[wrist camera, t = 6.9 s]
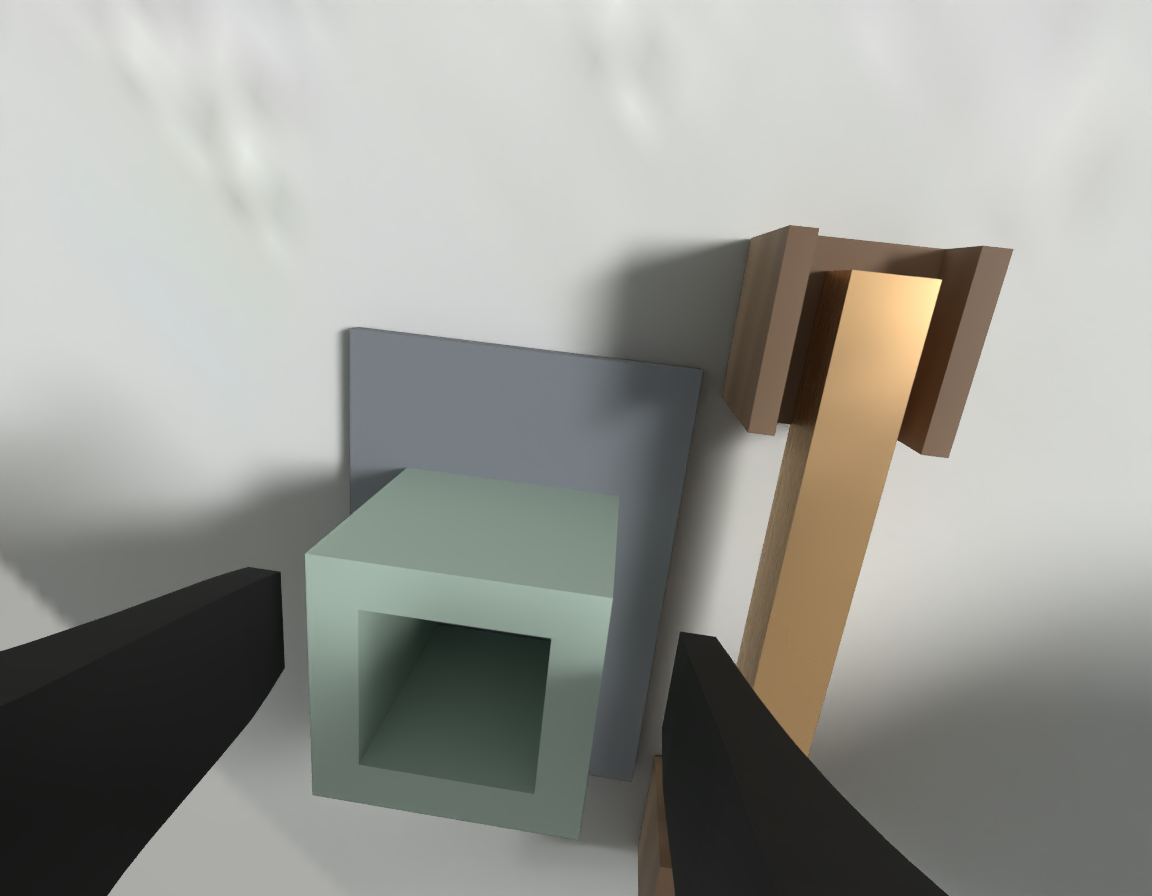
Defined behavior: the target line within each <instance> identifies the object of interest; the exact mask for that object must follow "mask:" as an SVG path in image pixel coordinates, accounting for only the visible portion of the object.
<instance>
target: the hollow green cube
mask: <svg viewBox="0 0 1152 896" xmlns="http://www.w3.org/2000/svg"><path fill="white" fill-rule="evenodd" d="M618 510H619V496H616V495H608V494H601V493H593V492H586V491H578V490H571V489H563V488H556V487H548V486H541V485H534V484H526V483H519V482H511V481H504V480H496V479H489V478H481V477H474V476H466V475H459V474H452V473H444V472H437V471H429V470H422V469H414V468H406V469H405V470H404V471H403V472H401V473H400V474H399V475H398V476H397V477H395V478H394V479H393V480H392V481H391V482H389V483H388V484H387V485H386V486H385V487H383V488H382V489H381V490H380V491H379V492H378V493H376V494H375V495H374V496H373V497H372V498H370V499H369V500H368V501H367V502H366V503H364V504H363V505H362V506H361V507H360V508H359V509H357V510H356V511H355V512H354V513H353V514H351V515H350V516H349V517H348V518H347V519H345V520H344V521H343V522H342V523H341V524H339V525H338V526H337V527H336V528H335V529H334V530H332V531H331V532H330V533H329V534H328V535H326V536H325V537H324V538H323V539H322V540H320V541H319V542H318V543H317V544H316V545H314V546H313V547H312V548H311V549H310V550H309V551H307V552H306V553H305V577H306V607H307V638H308V669H309V700H310V730H311V761H312V792H313V795H315V796H321V797H327V798H333V799H339V800H345V801H350V802H356V803H362V804H368V805H374V806H380V807H386V808H392V809H397V810H403V811H409V812H415V813H421V814H427V815H433V816H438V817H444V818H450V819H456V820H462V821H468V822H474V823H480V824H485V825H491V826H497V827H503V828H509V829H515V830H521V831H526V832H532V833H538V834H544V835H550V836H556V837H562V838H567V839H573V840H579V834H580V827H581V820H582V813H583V806H584V799H585V792H586V785H587V778H588V770H589V763H590V756H591V749H592V742H593V735H594V728H595V721H596V714H597V707H598V700H599V693H600V686H601V679H602V672H603V665H604V658H605V651H606V644H607V637H608V630H609V623H610V616H611V608H612V601H613V589H614V574H615V558H616V542H617V526H618ZM438 622H444V623H451V624H457V625H464V626H471V627H477V628H484V629H491V630H497V631H504V632H511V633H517V634H524V635H531V636H537V637H544V638H551V641H544V640H537V639H531V638H524V637H517V636H511V635H504V634H497V633H491V632H484V631H477V630H471V629H464V628H457V627H451V626H444V625H438Z"/></svg>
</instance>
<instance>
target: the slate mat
mask: <svg viewBox="0 0 1152 896" xmlns="http://www.w3.org/2000/svg"><path fill="white" fill-rule="evenodd" d="M349 341H350V515H351V514H353V513H354V512H355V511H356V510H357V509H359V508H360V507H361V506H362V505H363V504H364V503H366V502H367V501H368V500H369V499H370V498H372V497H373V496H374V495H375V494H376V493H378V492H379V491H380V490H381V489H382V488H383V487H385V486H386V485H387V484H388V483H389V482H391V481H392V480H393V479H394V478H395V477H397V476H398V475H399V474H400V473H401V472H403V471H404V470H405V469H406V468H414V469H422V470H429V471H437V472H444V473H452V474H459V475H466V476H474V477H481V478H489V479H496V480H504V481H511V482H519V483H526V484H534V485H541V486H548V487H556V488H563V489H571V490H578V491H586V492H593V493H601V494H608V495H616V496H619V510H618V526H617V542H616V558H615V574H614V589H613V601H612V608H611V616H610V623H609V630H608V637H607V644H606V651H605V658H604V665H603V672H602V679H601V686H600V693H599V700H598V707H597V714H596V721H595V728H594V735H593V742H592V749H591V756H590V763H589V770H588V775H593V776H599V777H605V778H611V779H617V780H623V781H629V782H632V778H633V773H634V767H635V761H636V755H637V750H638V744H639V738H640V732H641V726H642V721H643V715H644V709H645V703H646V698H647V692H648V686H649V680H650V675H651V669H652V663H653V657H654V652H655V646H656V640H657V634H658V629H659V623H660V617H661V611H662V606H663V600H664V594H665V588H666V583H667V577H668V571H669V565H670V560H671V554H672V548H673V542H674V536H675V531H676V525H677V519H678V513H679V508H680V502H681V496H682V490H683V485H684V479H685V473H686V467H687V462H688V456H689V450H690V444H691V439H692V433H693V427H694V421H695V416H696V410H697V404H698V398H699V392H700V387H701V381H702V375H703V371H702V370H701V369H697V368H689V367H681V366H673V365H665V364H656V363H648V362H640V361H632V360H624V359H616V358H607V357H599V356H591V355H583V354H575V353H567V352H558V351H550V350H542V349H534V348H526V347H518V346H509V345H501V344H493V343H485V342H477V341H469V340H460V339H452V338H444V337H436V336H428V335H420V334H411V333H403V332H395V331H387V330H379V329H371V328H362V327H356V328H350V329H349ZM438 625H444V626H451V627H457V628H464V629H471V630H477V631H484V632H491V633H497V634H504V635H511V636H517V637H524V638H531V639H537V640H544V641H551V638H544V637H537V636H531V635H524V634H517V633H511V632H504V631H497V630H491V629H484V628H477V627H471V626H464V625H457V624H451V623H444V622H438Z"/></svg>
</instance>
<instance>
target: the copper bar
mask: <svg viewBox="0 0 1152 896" xmlns="http://www.w3.org/2000/svg"><path fill="white" fill-rule="evenodd" d="M941 282H942V280H940V279H931V278H922V277H913V276H904V275H895V274H886V273H877V272H868V271H858V270H833V271H825V272H824V276H823V280H822V285H821V289H820V294H819V298H818V303H817V307H816V312H815V316H814V321H813V325H812V330H811V334H810V339H809V343H808V348H807V352H806V357H805V361H804V365H803V370H802V374H801V379H800V383H799V388H798V392H797V397H796V401H795V406H794V410H793V415H792V419H791V424H790V428H789V433H788V437H787V442H786V446H785V450H784V455H783V459H782V464H781V468H780V473H779V477H778V482H777V486H776V491H775V495H774V500H773V504H772V509H771V513H770V518H769V522H768V526H767V531H766V535H765V540H764V544H763V549H762V553H761V558H760V562H759V567H758V571H757V576H756V580H755V585H754V589H753V594H752V598H751V603H750V607H749V611H748V616H747V620H746V625H745V629H744V634H743V638H742V643H741V647H740V652H739V656H738V661H737V665H736V666H737V667H738V669H739V670H740V672H741V673H742V674H743V676H744V677H745V679H746V680H747V681H748V683H749V684H750V686H751V687H752V688H753V690H754V691H755V692H756V694H757V695H758V696H759V698H760V699H761V701H762V702H763V703H764V705H765V706H766V707H767V708H768V710H769V711H770V712H771V714H772V715H773V716H774V717H775V719H776V720H777V721H778V723H779V724H780V725H781V726H782V728H783V729H784V730H785V731H786V733H787V734H788V735H789V736H790V738H791V739H792V740H793V741H794V742H795V744H796V745H797V746H798V747H799V748H800V749H801V751H802V752H803V753H804V754H805V755H806V756H807V757H808V755H809V751H810V748H811V744H812V741H813V737H814V734H815V730H816V726H817V723H818V719H819V716H820V712H821V709H822V705H823V702H824V698H825V694H826V691H827V687H828V684H829V680H830V677H831V673H832V670H833V666H834V662H835V659H836V655H837V652H838V648H839V645H840V641H841V638H842V634H843V630H844V627H845V623H846V620H847V616H848V613H849V609H850V606H851V602H852V598H853V595H854V591H855V588H856V584H857V581H858V577H859V574H860V570H861V566H862V563H863V559H864V556H865V552H866V549H867V545H868V542H869V538H870V534H871V531H872V527H873V524H874V520H875V517H876V513H877V509H878V506H879V502H880V499H881V495H882V492H883V488H884V485H885V481H886V477H887V474H888V470H889V467H890V463H891V460H892V456H893V453H894V449H895V445H896V442H897V438H898V435H899V431H900V428H901V424H902V421H903V417H904V413H905V410H906V406H907V403H908V399H909V396H910V392H911V389H912V385H913V381H914V378H915V374H916V371H917V367H918V364H919V360H920V357H921V353H922V349H923V346H924V342H925V339H926V335H927V332H928V328H929V325H930V321H931V317H932V314H933V310H934V307H935V303H936V300H937V296H938V293H939V289H940V285H941Z"/></svg>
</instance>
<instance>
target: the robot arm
mask: <svg viewBox="0 0 1152 896" xmlns="http://www.w3.org/2000/svg"><path fill="white" fill-rule="evenodd" d="M284 668H285V663H284V640H283V617H282V595H281V572H278V571H271V570H264V569H257V568H251V567H247V568H243V569H239V570H236V571H232V572H229V573H226V574H223V575H220V576H217V577H214V578H211V579H208V580H205V581H202V582H200V583H197V584H194V585H191V586H188V587H186V588H183V589H180V590H177V591H175V592H172V593H169V594H167V595H164V596H161V597H158V598H156V599H153V600H150V601H148V602H145V603H142V604H139V605H137V606H134V607H131V608H128V609H126V610H123V611H120V612H118V613H115V614H112V615H109V616H106V617H103V618H100V619H97V620H94V621H91V622H88V623H86V624H83V625H80V626H77V627H74V628H71V629H68V630H65V631H62V632H59V633H56V634H53V635H50V636H47V637H45V638H41V639H38V640H35V641H32V642H29V643H26V644H23V645H20V646H17V647H13V648H10V649H7V650H4V651H0V896H107V895H108V894H109V893H110V891H111V890H112V888H113V887H114V885H115V884H116V883H117V881H118V880H119V879H120V877H121V876H122V875H123V873H124V872H125V870H126V869H127V868H128V867H129V866H130V864H131V863H132V862H133V860H134V859H135V858H136V857H137V856H138V854H139V853H140V851H141V850H142V849H143V848H144V847H145V845H146V844H147V843H148V842H149V840H150V839H151V838H152V837H153V836H154V835H155V833H156V832H157V831H158V830H159V829H160V827H161V826H162V825H163V824H164V823H165V822H166V820H167V819H168V818H169V817H170V816H171V815H172V813H173V812H174V811H175V810H176V809H177V807H178V806H179V805H180V804H181V803H182V801H183V800H184V799H185V798H186V797H187V796H188V795H189V793H190V792H191V791H192V790H193V788H194V787H195V786H196V785H197V784H198V783H199V782H200V780H201V779H202V778H203V777H204V775H206V773H207V772H208V771H209V770H210V769H211V767H212V766H213V765H214V764H215V763H216V762H217V760H218V759H219V758H220V757H221V756H222V754H223V753H224V752H225V751H226V750H227V748H228V747H229V746H230V745H231V744H232V742H233V741H234V740H235V739H236V738H237V736H238V735H239V734H240V733H241V732H242V730H243V729H244V728H245V727H246V725H247V724H248V723H249V722H250V721H251V719H252V718H253V716H254V715H255V713H256V712H257V710H258V709H259V707H260V706H261V704H262V703H263V702H264V700H265V699H266V697H267V696H268V694H269V692H270V691H271V689H272V688H273V686H274V684H275V683H276V681H277V680H278V678H279V676H280V675H281V673H282V672H283V670H284ZM662 782H663V796H664V805H665V814H666V822H667V831H668V840H669V848H670V856H671V865H672V873H673V882H674V890H675V896H948V895H947V894H946V893H945V892H944V891H943V890H942V889H940V888H939V887H938V886H937V885H936V884H935V883H934V882H932V881H931V880H930V879H929V878H928V877H927V876H926V875H925V874H923V873H922V872H921V871H920V870H919V869H918V868H917V867H915V866H914V865H913V864H912V863H911V862H910V861H909V860H908V859H906V858H905V857H904V856H903V855H902V854H901V853H900V852H899V851H898V850H897V849H896V848H895V847H894V846H892V845H891V844H890V843H889V842H888V841H887V840H886V839H885V838H884V837H883V836H882V835H881V834H880V833H879V832H878V831H877V830H876V829H875V828H874V827H873V826H872V825H871V824H870V823H869V822H868V821H867V820H866V819H865V818H864V817H863V816H862V815H861V814H860V813H859V812H858V811H857V810H856V809H855V808H854V807H853V806H852V805H851V804H850V803H849V802H848V801H847V800H846V799H845V798H844V797H843V796H842V795H841V794H840V793H839V792H838V791H837V790H836V789H835V788H834V787H833V785H832V784H831V783H830V782H829V781H828V780H827V779H826V778H825V777H824V776H823V775H822V773H821V772H820V771H819V770H818V769H817V768H816V767H815V765H814V764H813V763H812V762H811V761H810V760H809V759H808V757H807V756H806V755H805V754H804V753H803V752H802V751H801V749H800V748H799V747H798V746H797V745H796V744H795V742H794V741H793V740H792V739H791V738H790V736H789V735H788V734H787V733H786V731H785V730H784V729H783V728H782V726H781V725H780V724H779V723H778V721H777V720H776V719H775V717H774V716H773V715H772V714H771V712H770V711H769V710H768V708H767V707H766V706H765V705H764V703H763V702H762V701H761V699H760V698H759V696H758V695H757V694H756V692H755V691H754V690H753V688H752V687H751V686H750V684H749V683H748V681H747V680H746V679H745V677H744V676H743V674H742V673H741V672H740V670H739V669H738V667H737V666H736V665H735V663H734V662H733V660H732V659H731V658H730V656H729V655H728V653H727V652H726V650H725V649H724V648H723V646H722V645H721V644H720V642H719V641H718V639H717V638H716V637H713V636H706V635H699V634H693V633H686V632H680V635H679V641H678V646H677V651H676V657H675V662H674V667H673V673H672V678H671V683H670V689H669V694H668V700H667V705H666V710H665V716H664V721H663V726H662Z"/></svg>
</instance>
